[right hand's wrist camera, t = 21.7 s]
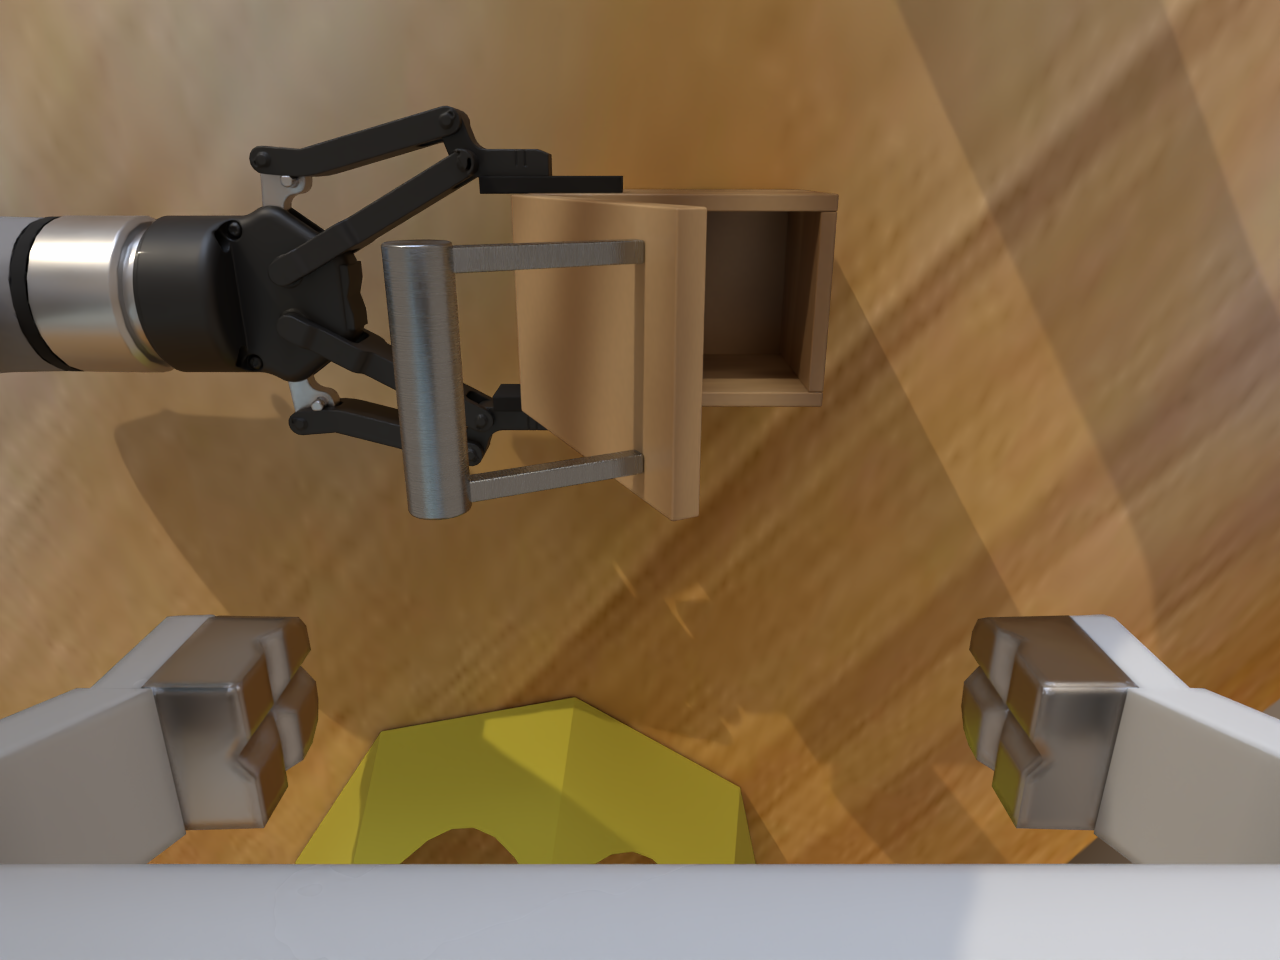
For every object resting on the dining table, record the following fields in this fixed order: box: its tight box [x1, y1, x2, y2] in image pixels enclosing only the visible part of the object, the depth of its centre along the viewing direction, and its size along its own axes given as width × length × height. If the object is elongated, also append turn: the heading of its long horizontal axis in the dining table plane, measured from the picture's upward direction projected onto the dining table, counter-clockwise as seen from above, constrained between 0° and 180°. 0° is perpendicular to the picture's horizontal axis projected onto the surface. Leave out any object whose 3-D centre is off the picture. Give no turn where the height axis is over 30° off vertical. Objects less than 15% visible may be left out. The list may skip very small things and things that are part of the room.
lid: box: [381, 194, 707, 521], centre depth 30 cm, size 15×10×9 cm
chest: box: [528, 189, 838, 407], centre depth 43 cm, size 14×10×10 cm
